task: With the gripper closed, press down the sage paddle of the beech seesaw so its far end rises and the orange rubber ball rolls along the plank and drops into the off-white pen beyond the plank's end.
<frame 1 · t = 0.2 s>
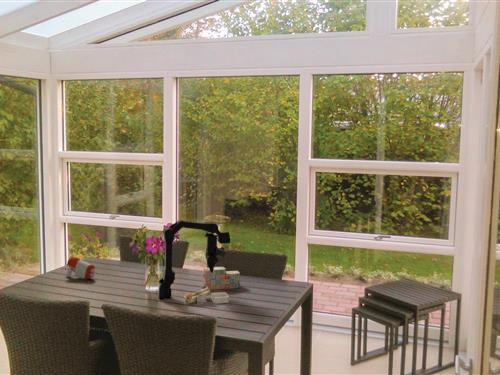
hand: (211, 270, 300), 14 cm above the table, tool pointing down, fingers open, 9 cm apart
lever: (196, 293, 290), point 4 cm above the table, hinge at -19.4°, touching ball
ball: (189, 296, 285), point 4 cm above the table, tilted 19°, touching lever
fulcrum: (198, 302, 287), on the table
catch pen: (220, 300, 290), on the table
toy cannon: (80, 278, 327), on the table
stack of blocks: (221, 288, 315), on the table
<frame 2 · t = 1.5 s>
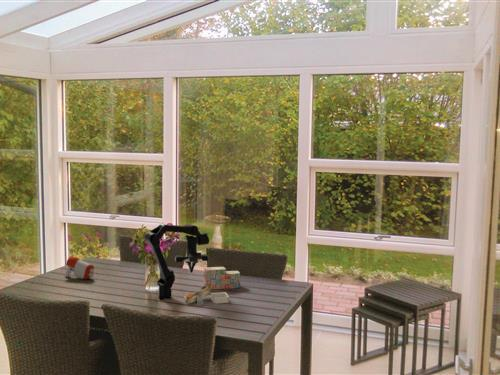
hand: (191, 272, 302), 12 cm above the table, tool pointing down, fingers closed
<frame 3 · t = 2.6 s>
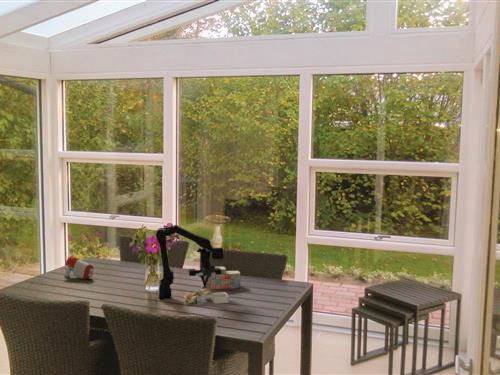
hand: (204, 286, 296), 6 cm above the table, tool pointing down, fingers closed, pressing on lever
lever: (196, 293, 290), point 4 cm above the table, hinge at -19.5°, touching ball, gripper
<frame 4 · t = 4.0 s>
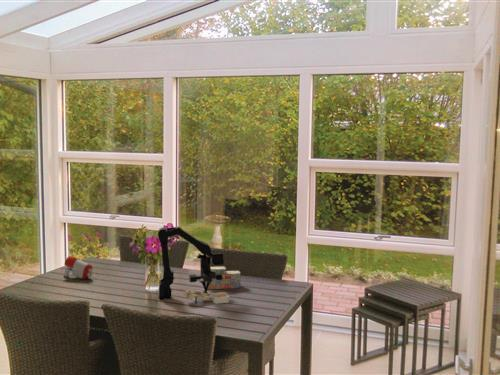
hand: (205, 291, 297), 3 cm above the table, tool pointing down, fingers closed, pressing on lever
lever: (197, 293, 290), point 4 cm above the table, hinge at 11.6°, touching gripper
ball: (222, 297, 291), point 2 cm above the table, tilted 66°
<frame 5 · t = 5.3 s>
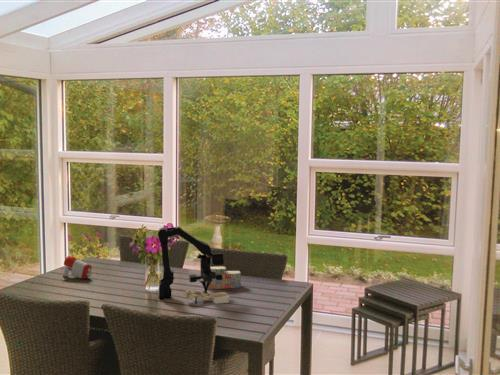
hand: (205, 292, 297), 3 cm above the table, tool pointing down, fingers closed, pressing on lever
lever: (197, 293, 290), point 4 cm above the table, hinge at 11.8°, touching gripper
ball: (218, 297, 290), point 2 cm above the table, tilted 142°
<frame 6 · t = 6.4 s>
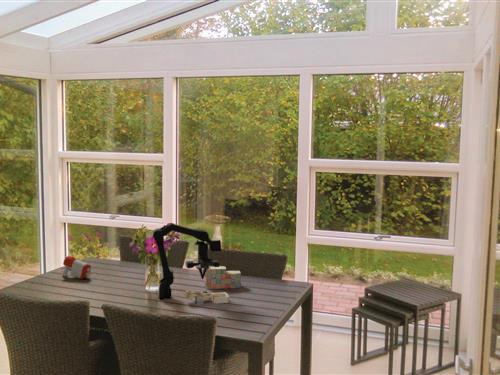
hand: (202, 278, 297), 10 cm above the table, tool pointing down, fingers closed
lever: (197, 293, 290), point 4 cm above the table, hinge at 11.8°
ball: (215, 297, 289), point 2 cm above the table, tilted 169°
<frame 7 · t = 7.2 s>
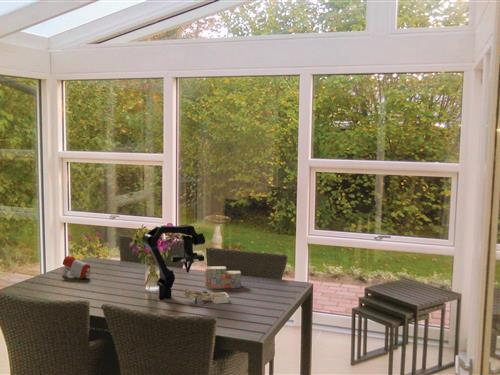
hand: (187, 272, 302), 12 cm above the table, tool pointing down, fingers closed
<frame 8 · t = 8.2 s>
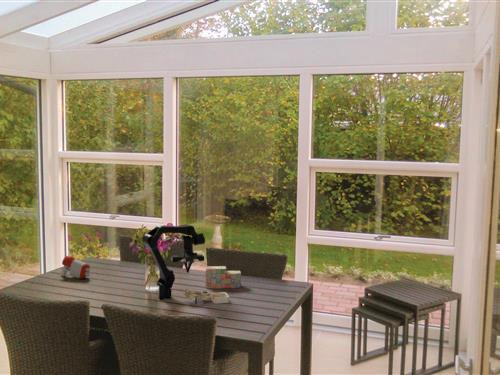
hand: (187, 272, 302), 12 cm above the table, tool pointing down, fingers closed
at the end: ball inside the target area on the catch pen (2.2 cm from its centre), point 1.7 cm above the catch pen's base; lever at +12° (first picture: -19°) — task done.
